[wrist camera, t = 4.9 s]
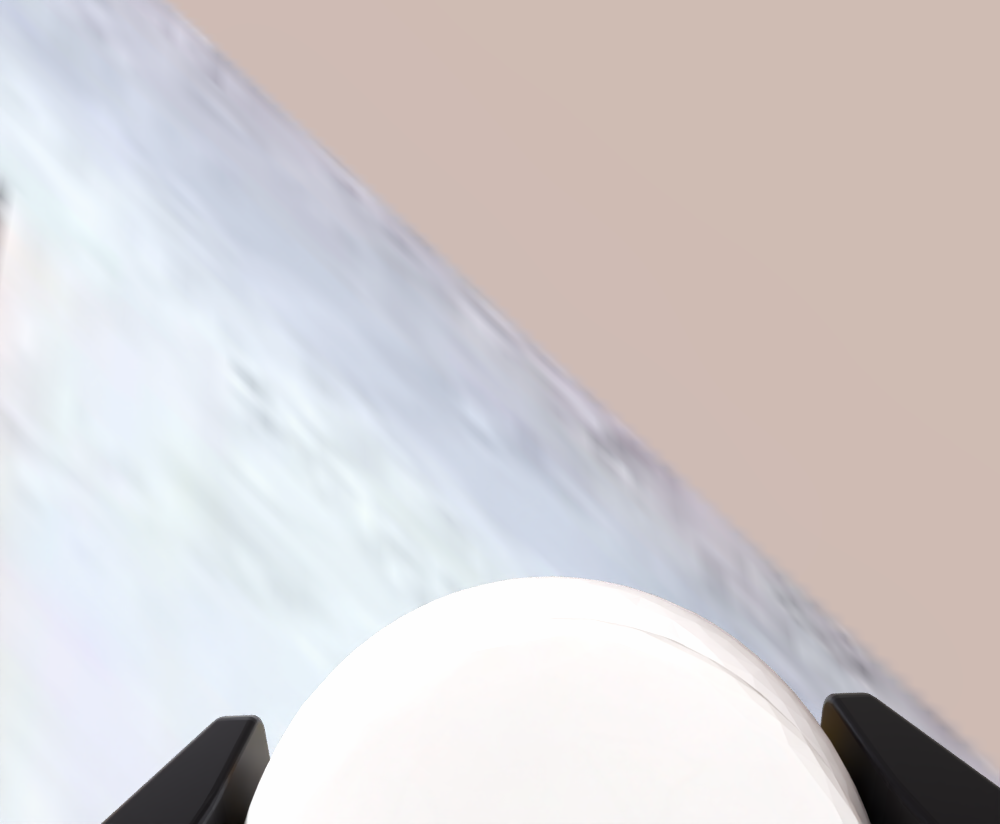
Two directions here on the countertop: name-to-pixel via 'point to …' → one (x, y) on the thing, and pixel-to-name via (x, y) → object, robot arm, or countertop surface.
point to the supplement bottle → (554, 721)
